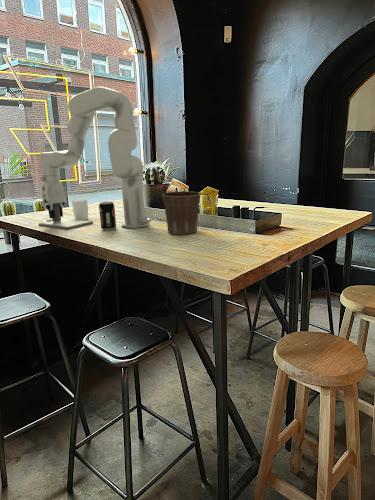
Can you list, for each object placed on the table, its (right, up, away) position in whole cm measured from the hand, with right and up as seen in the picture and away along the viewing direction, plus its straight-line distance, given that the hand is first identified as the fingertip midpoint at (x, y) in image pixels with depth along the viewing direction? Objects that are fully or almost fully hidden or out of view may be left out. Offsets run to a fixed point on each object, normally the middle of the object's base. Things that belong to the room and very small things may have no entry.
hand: (56, 216), depth 180 cm
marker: (0, -3, +1) cm, 3 cm away
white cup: (+8, 0, +13) cm, 16 cm away
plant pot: (+62, -9, -24) cm, 67 cm away
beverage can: (+28, -7, -13) cm, 32 cm away
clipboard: (+4, -4, +1) cm, 6 cm away
